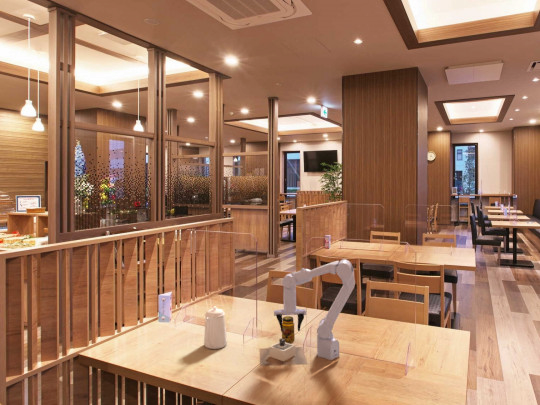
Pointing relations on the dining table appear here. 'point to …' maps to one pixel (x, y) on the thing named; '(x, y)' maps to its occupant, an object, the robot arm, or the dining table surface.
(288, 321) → the condiment
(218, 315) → the coffeepot
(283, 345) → the plunger
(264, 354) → the board
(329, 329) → the robot arm
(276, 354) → the press housing
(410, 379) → the dining table surface
